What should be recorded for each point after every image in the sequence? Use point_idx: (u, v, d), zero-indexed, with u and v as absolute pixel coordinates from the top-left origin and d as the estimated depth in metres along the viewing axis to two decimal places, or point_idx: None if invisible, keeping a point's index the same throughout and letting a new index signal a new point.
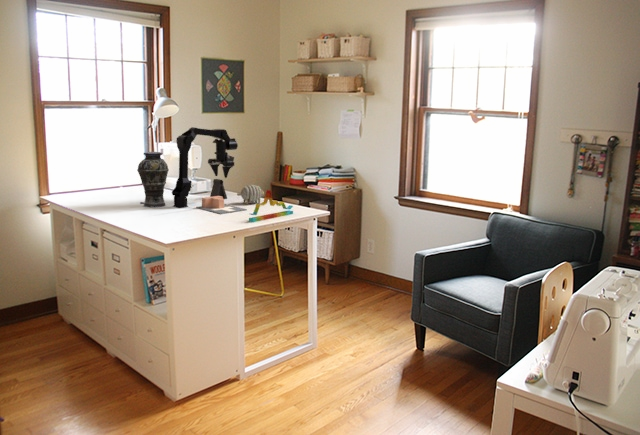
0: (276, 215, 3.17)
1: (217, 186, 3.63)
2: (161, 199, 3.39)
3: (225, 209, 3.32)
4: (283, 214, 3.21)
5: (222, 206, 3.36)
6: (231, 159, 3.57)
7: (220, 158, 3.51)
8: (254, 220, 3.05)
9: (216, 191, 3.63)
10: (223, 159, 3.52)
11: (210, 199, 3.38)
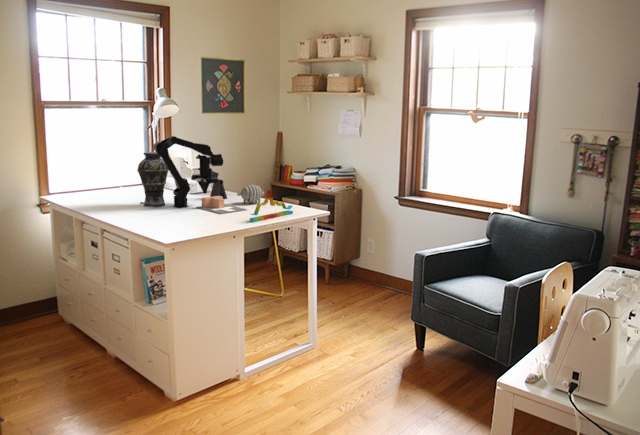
0: (276, 215, 3.17)
1: (217, 186, 3.63)
2: (161, 199, 3.39)
3: (225, 209, 3.32)
4: (283, 214, 3.22)
5: (222, 206, 3.36)
6: (215, 175, 3.46)
7: (204, 174, 3.40)
8: (255, 220, 3.05)
9: (216, 191, 3.63)
10: (207, 175, 3.41)
11: (210, 199, 3.38)
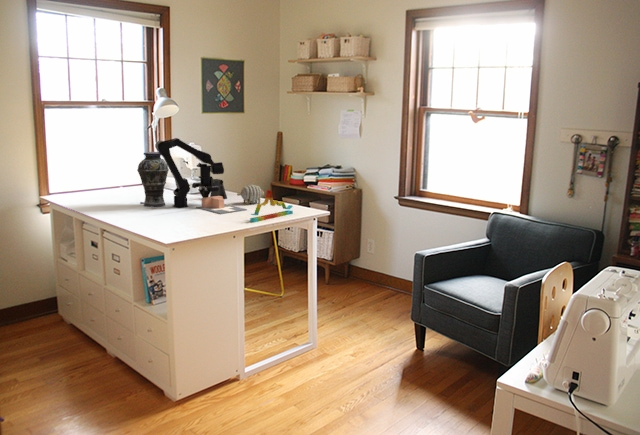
0: (276, 215, 3.17)
1: None
2: (161, 199, 3.39)
3: (225, 209, 3.32)
4: (283, 214, 3.22)
5: (222, 206, 3.36)
6: (216, 183, 3.46)
7: (204, 183, 3.41)
8: (255, 220, 3.05)
9: (216, 191, 3.63)
10: (207, 183, 3.42)
11: (210, 199, 3.38)
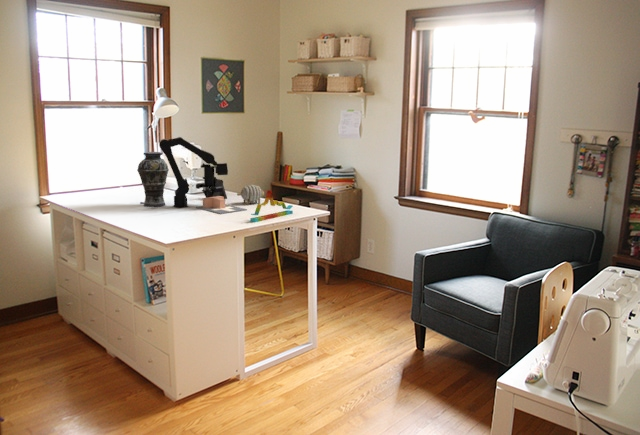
0: (277, 215, 3.18)
1: None
2: (161, 199, 3.39)
3: (225, 209, 3.32)
4: (283, 214, 3.22)
5: (223, 206, 3.35)
6: (220, 184, 3.44)
7: (208, 183, 3.38)
8: (256, 220, 3.05)
9: None
10: (211, 184, 3.39)
11: (211, 199, 3.37)
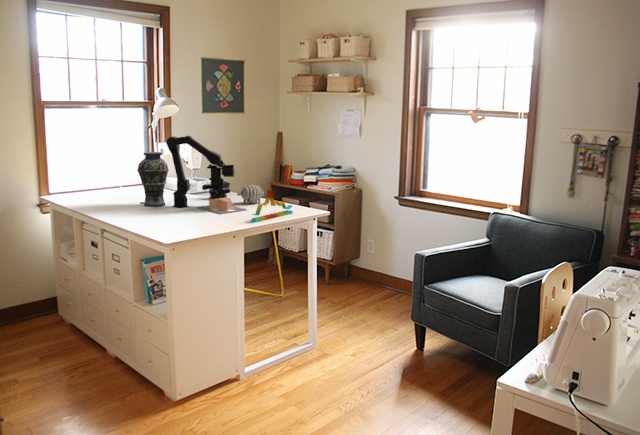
0: (277, 215, 3.18)
1: None
2: (161, 199, 3.39)
3: None
4: (283, 214, 3.22)
5: (230, 208, 3.31)
6: (227, 185, 3.39)
7: (215, 184, 3.34)
8: (257, 220, 3.05)
9: None
10: (218, 185, 3.35)
11: (218, 201, 3.33)
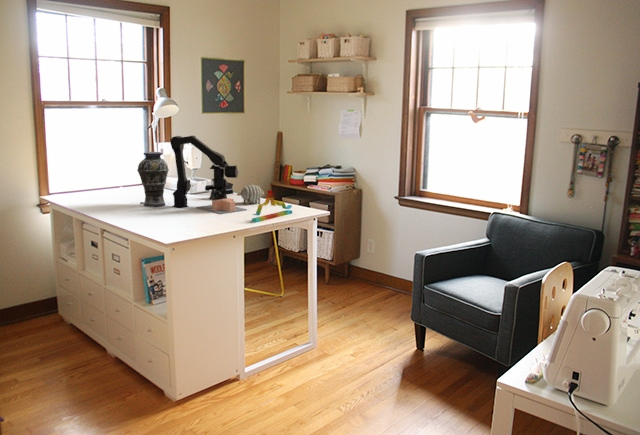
0: (277, 215, 3.18)
1: None
2: (161, 199, 3.39)
3: None
4: (283, 214, 3.22)
5: (233, 209, 3.29)
6: (230, 186, 3.37)
7: (218, 185, 3.32)
8: (257, 220, 3.05)
9: None
10: (221, 186, 3.33)
11: (221, 202, 3.31)
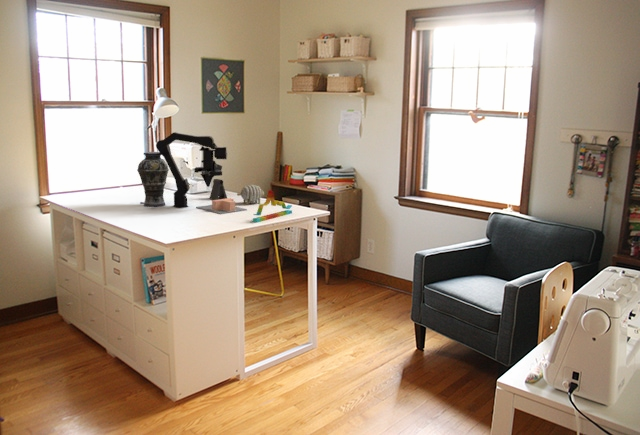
0: (277, 215, 3.18)
1: (217, 186, 3.63)
2: (161, 199, 3.39)
3: None
4: (283, 214, 3.22)
5: (233, 209, 3.29)
6: (219, 168, 3.38)
7: (207, 167, 3.33)
8: (258, 220, 3.04)
9: (216, 191, 3.63)
10: (210, 168, 3.34)
11: (221, 202, 3.31)
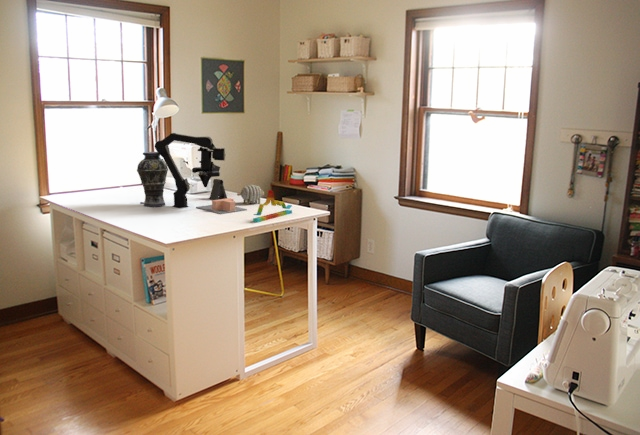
0: (277, 215, 3.18)
1: (217, 186, 3.63)
2: (161, 199, 3.39)
3: None
4: (283, 214, 3.23)
5: (233, 209, 3.29)
6: (217, 169, 3.38)
7: (205, 167, 3.32)
8: (258, 220, 3.05)
9: (216, 191, 3.63)
10: (208, 169, 3.33)
11: (221, 202, 3.31)
